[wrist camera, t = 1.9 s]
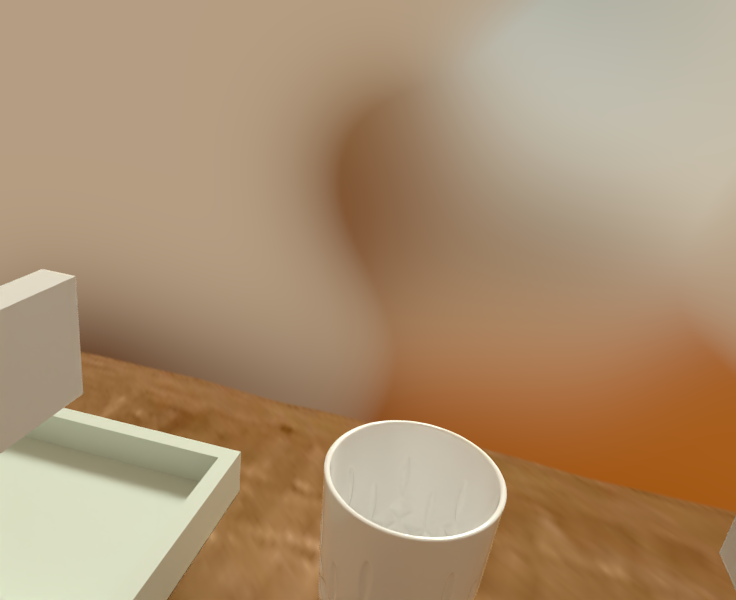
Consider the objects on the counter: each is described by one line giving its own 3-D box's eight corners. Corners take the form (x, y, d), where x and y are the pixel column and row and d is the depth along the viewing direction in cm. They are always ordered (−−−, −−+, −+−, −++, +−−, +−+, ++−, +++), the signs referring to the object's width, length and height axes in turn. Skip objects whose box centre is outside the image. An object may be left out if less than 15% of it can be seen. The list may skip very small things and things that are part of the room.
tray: (239, 490, 38) (241, 451, 37) (98, 703, 25) (93, 653, 24) (-6, 427, 41) (-11, 389, 40) (-244, 587, 28) (-262, 538, 27)
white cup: (273, 655, 28) (286, 483, 24) (356, 549, 34) (377, 401, 31) (427, 755, 25) (470, 574, 21) (486, 617, 31) (527, 460, 27)
